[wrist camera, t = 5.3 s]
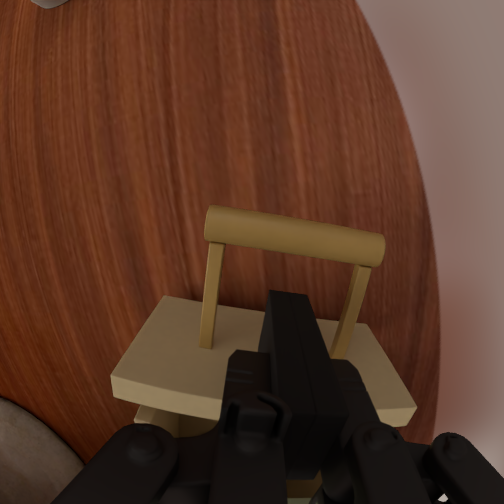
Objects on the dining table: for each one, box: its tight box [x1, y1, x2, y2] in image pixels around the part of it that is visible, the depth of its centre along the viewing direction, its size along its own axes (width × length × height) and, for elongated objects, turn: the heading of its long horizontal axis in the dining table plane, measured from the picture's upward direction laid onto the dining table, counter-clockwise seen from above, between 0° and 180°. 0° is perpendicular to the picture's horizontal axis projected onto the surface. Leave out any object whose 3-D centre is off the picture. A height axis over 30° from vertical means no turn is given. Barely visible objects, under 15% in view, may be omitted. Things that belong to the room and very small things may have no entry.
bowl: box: [0, 397, 85, 504], centre depth 15 cm, size 26×25×20 cm
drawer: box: [111, 205, 417, 498], centre depth 15 cm, size 24×12×8 cm, turn 171°
